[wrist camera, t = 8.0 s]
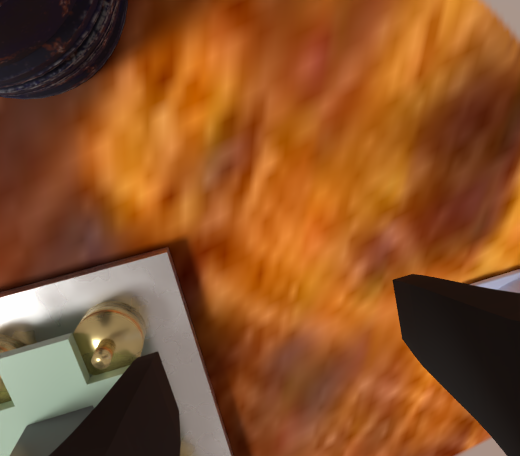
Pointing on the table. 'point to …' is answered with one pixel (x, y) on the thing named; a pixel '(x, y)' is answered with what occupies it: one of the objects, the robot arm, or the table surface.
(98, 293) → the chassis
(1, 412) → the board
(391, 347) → the table surface
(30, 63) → the storage jar
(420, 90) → the table surface
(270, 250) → the table surface
